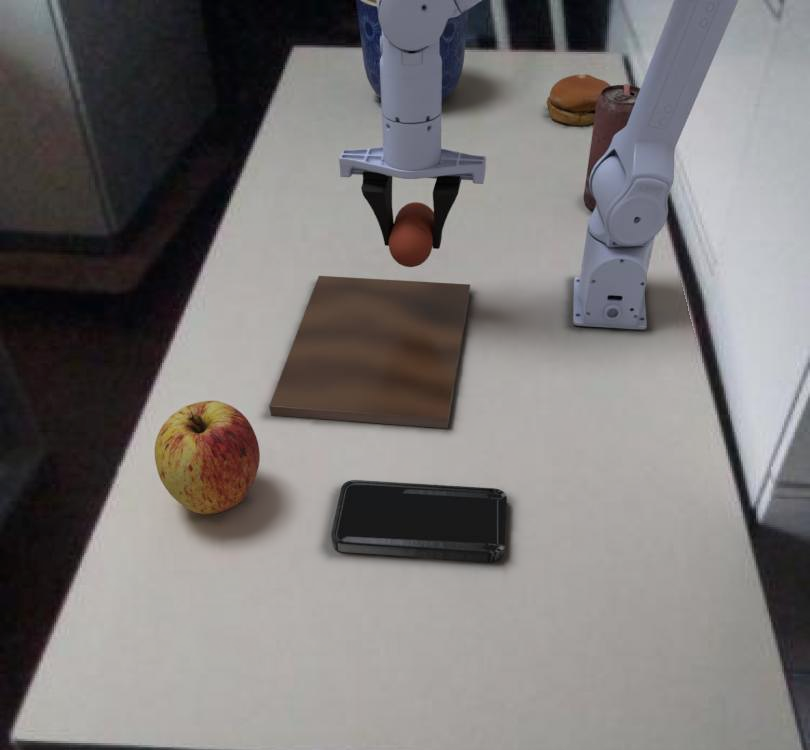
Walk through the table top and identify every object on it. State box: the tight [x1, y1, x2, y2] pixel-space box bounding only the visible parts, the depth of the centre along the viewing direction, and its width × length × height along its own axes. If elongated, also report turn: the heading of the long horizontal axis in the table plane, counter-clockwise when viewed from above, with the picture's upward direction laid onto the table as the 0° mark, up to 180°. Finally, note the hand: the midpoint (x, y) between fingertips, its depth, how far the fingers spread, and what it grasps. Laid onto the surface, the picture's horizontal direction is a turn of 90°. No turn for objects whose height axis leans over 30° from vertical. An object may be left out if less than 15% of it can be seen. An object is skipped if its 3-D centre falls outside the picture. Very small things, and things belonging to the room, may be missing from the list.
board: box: [268, 275, 471, 429], centre depth 93 cm, size 24×18×1 cm
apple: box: [154, 400, 261, 515], centre depth 75 cm, size 9×9×10 cm
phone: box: [330, 479, 508, 563], centre depth 75 cm, size 8×1×15 cm
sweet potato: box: [388, 201, 434, 268], centre depth 91 cm, size 9×5×5 cm, turn 171°
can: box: [583, 83, 641, 212], centre depth 108 cm, size 6×6×14 cm
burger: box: [546, 74, 612, 126], centre depth 130 cm, size 10×9×5 cm
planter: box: [355, 0, 470, 101], centre depth 131 cm, size 17×17×15 cm
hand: (413, 242), depth 92 cm, fingers closed on sweet potato, 4 cm apart
